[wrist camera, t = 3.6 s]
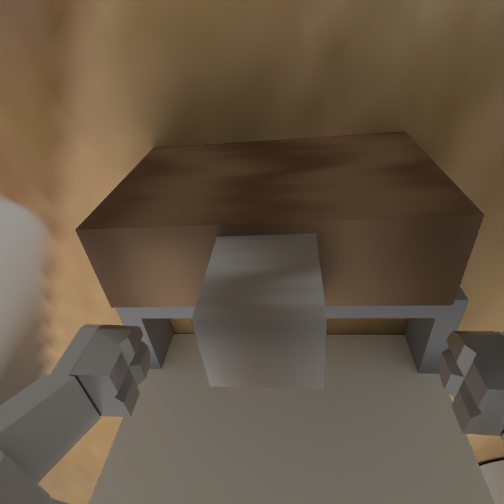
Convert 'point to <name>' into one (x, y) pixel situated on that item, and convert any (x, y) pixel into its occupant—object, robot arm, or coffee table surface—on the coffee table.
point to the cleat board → (297, 424)
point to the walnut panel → (280, 193)
